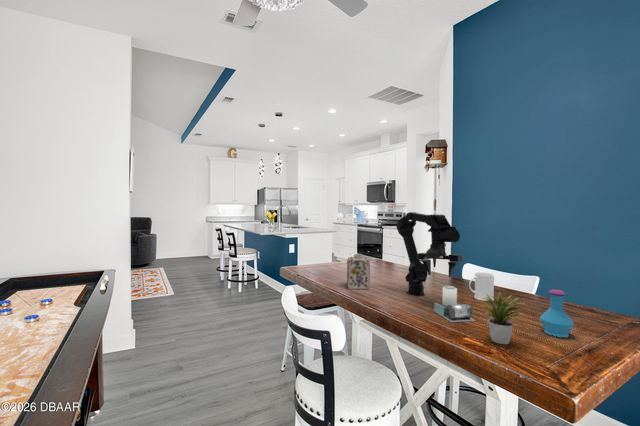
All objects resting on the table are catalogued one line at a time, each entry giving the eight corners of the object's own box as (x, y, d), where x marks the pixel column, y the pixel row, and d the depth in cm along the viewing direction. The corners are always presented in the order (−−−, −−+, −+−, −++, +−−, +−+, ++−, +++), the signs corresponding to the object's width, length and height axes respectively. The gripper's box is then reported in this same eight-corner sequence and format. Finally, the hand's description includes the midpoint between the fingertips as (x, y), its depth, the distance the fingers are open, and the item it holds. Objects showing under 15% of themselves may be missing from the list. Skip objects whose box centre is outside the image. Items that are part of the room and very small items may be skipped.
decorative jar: (370, 289, 158) (370, 256, 158) (348, 289, 158) (348, 255, 158) (366, 284, 170) (367, 252, 170) (346, 283, 170) (347, 252, 170)
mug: (472, 300, 140) (472, 275, 140) (464, 295, 149) (464, 271, 149) (497, 301, 140) (498, 276, 140) (488, 296, 148) (488, 272, 148)
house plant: (505, 355, 87) (506, 300, 87) (465, 337, 100) (466, 288, 100) (535, 347, 93) (536, 295, 93) (494, 330, 106) (495, 284, 106)
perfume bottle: (575, 341, 98) (576, 296, 97) (541, 335, 102) (542, 291, 102) (570, 332, 105) (571, 289, 105) (538, 326, 110) (539, 286, 110)
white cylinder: (438, 310, 124) (439, 285, 124) (449, 309, 126) (449, 284, 126) (449, 315, 119) (450, 289, 119) (460, 313, 121) (460, 288, 121)
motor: (432, 310, 126) (433, 297, 126) (453, 309, 128) (453, 296, 128) (451, 322, 113) (452, 307, 113) (474, 321, 115) (474, 306, 114)
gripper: (410, 242, 137) (412, 276, 136) (452, 242, 124) (454, 280, 123) (421, 241, 145) (422, 273, 144) (461, 241, 132) (463, 277, 131)
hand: (439, 276), depth 135 cm, fingers open, 9 cm apart
